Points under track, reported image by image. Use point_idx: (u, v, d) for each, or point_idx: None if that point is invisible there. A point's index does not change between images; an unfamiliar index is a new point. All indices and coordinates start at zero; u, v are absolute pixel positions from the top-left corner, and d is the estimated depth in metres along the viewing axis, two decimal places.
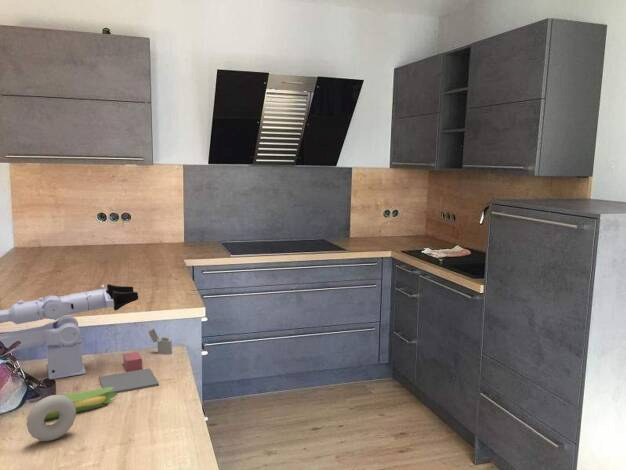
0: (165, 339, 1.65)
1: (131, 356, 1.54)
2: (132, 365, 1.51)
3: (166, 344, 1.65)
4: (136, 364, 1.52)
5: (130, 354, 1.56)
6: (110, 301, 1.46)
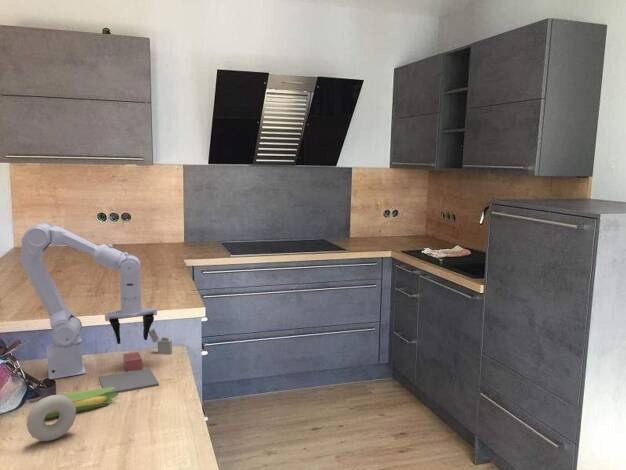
0: (165, 339, 1.65)
1: (131, 356, 1.54)
2: (132, 365, 1.51)
3: (166, 344, 1.65)
4: (136, 364, 1.52)
5: (130, 354, 1.56)
6: (105, 318, 1.48)
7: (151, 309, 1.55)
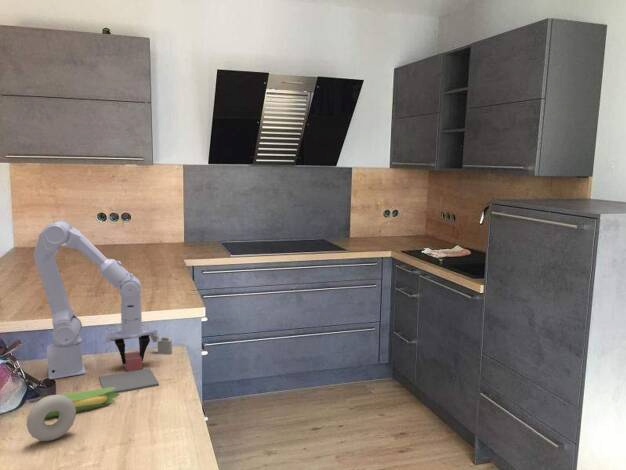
0: (165, 339, 1.65)
1: (131, 355, 1.54)
2: (132, 364, 1.51)
3: (166, 344, 1.65)
4: (136, 363, 1.52)
5: (130, 353, 1.56)
6: (106, 339, 1.49)
7: (151, 330, 1.56)
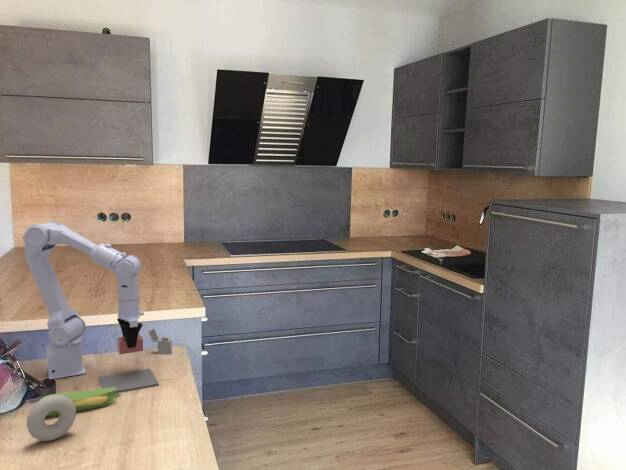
0: (165, 339, 1.65)
1: None
2: None
3: (166, 344, 1.65)
4: None
5: (123, 339, 1.47)
6: (136, 323, 1.41)
7: None
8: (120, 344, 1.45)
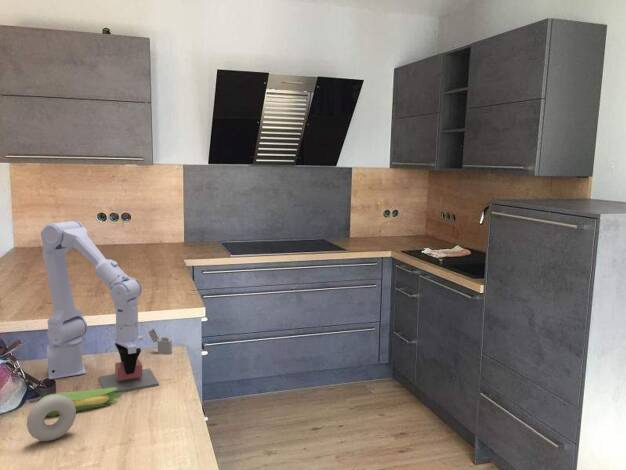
0: (165, 339, 1.65)
1: None
2: None
3: (166, 344, 1.65)
4: None
5: (122, 365, 1.42)
6: (134, 350, 1.36)
7: None
8: (119, 370, 1.40)
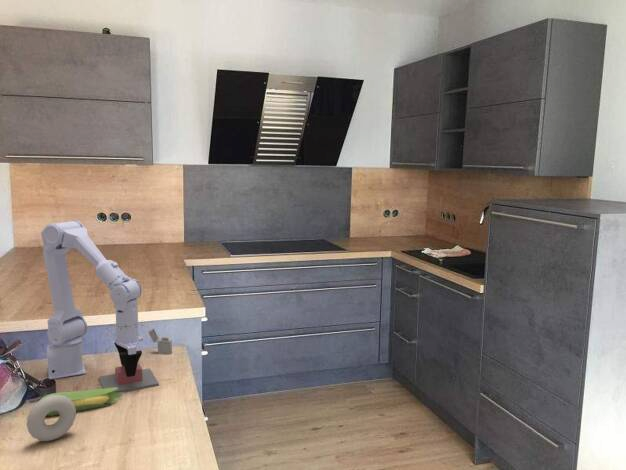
0: (165, 339, 1.65)
1: None
2: None
3: (166, 344, 1.65)
4: None
5: (122, 369, 1.42)
6: (134, 350, 1.36)
7: None
8: (119, 374, 1.40)
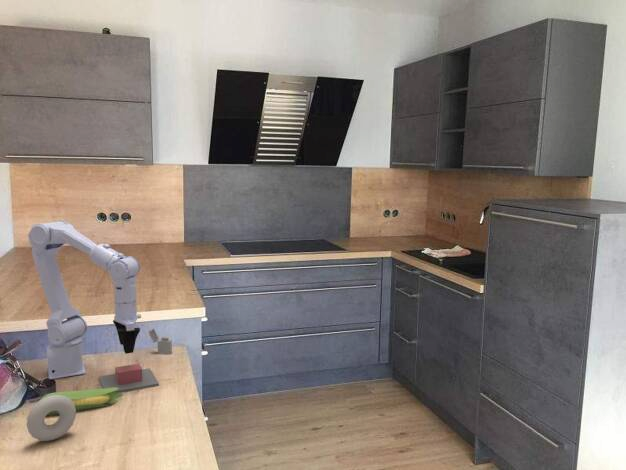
0: (165, 339, 1.65)
1: (128, 368, 1.43)
2: None
3: (166, 344, 1.65)
4: None
5: (122, 369, 1.42)
6: (133, 327, 1.37)
7: None
8: (119, 374, 1.40)
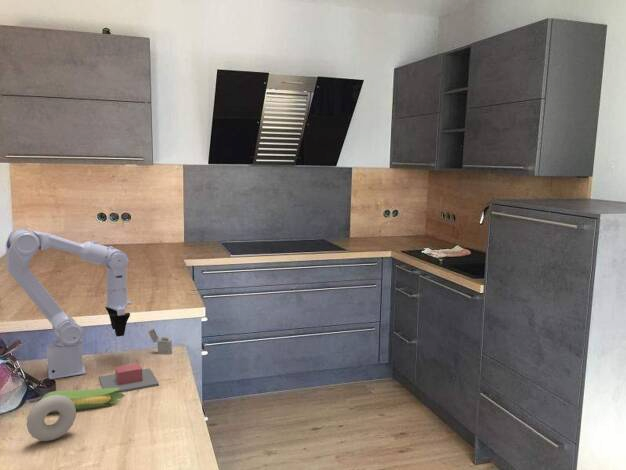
0: (165, 339, 1.65)
1: (128, 368, 1.43)
2: None
3: (166, 344, 1.65)
4: None
5: (122, 369, 1.42)
6: (123, 312, 1.50)
7: None
8: (119, 374, 1.40)
